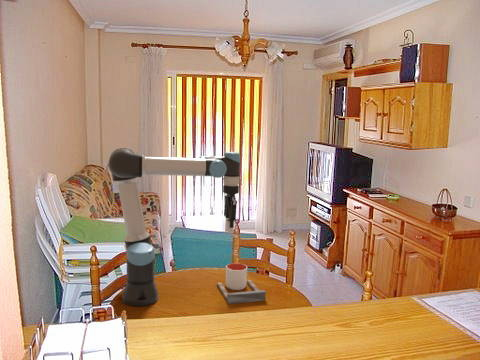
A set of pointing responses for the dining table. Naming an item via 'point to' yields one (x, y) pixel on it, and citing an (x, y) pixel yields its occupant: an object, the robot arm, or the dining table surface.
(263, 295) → the grey tray
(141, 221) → the robot arm
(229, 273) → the cup
